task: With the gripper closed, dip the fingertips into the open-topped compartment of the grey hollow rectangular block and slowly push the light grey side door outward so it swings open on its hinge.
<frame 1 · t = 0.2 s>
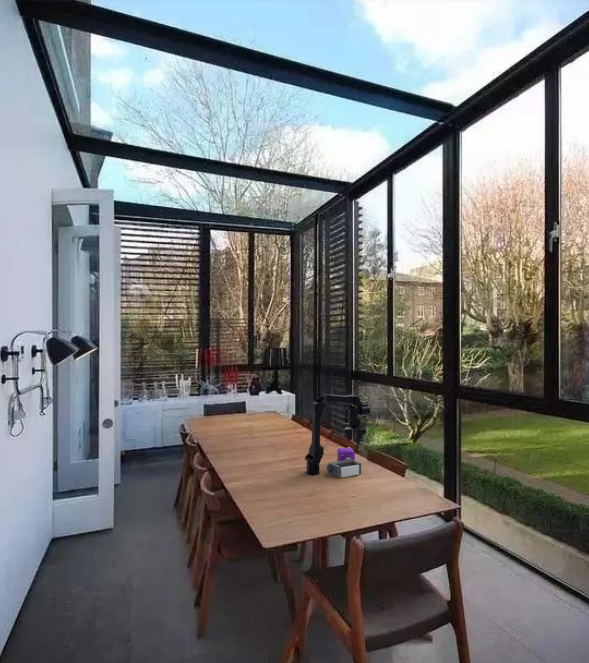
hand: (353, 442, 252), 14 cm above the table, fingers open, 9 cm apart
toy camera: (346, 466, 254), on the table
side door: (349, 471, 235), point 3 cm above the table, hinge at 0.0°
grey hollow rectangular block: (344, 473, 239), on the table
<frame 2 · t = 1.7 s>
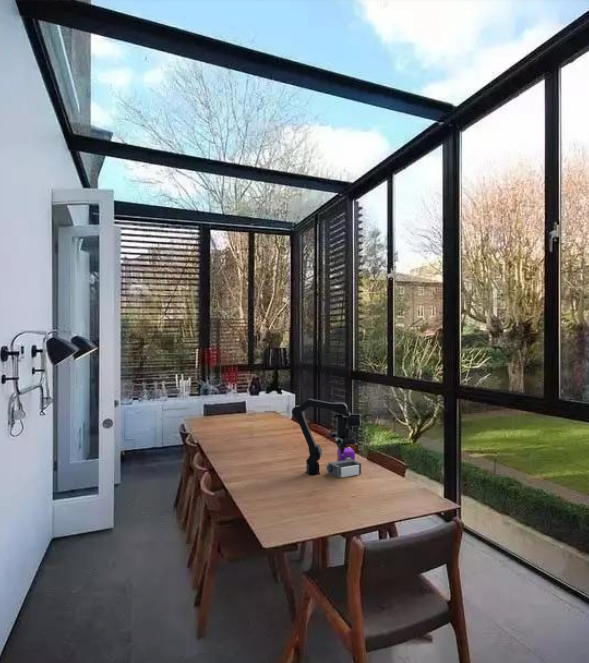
hand: (341, 453, 236), 12 cm above the table, fingers closed
nothing on the table moved.
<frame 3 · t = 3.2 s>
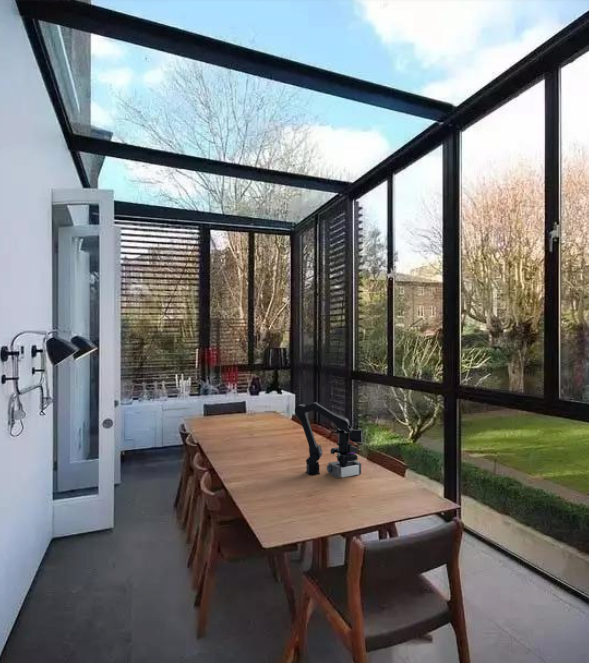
hand: (343, 469, 235), 4 cm above the table, fingers closed
side door: (349, 471, 235), point 3 cm above the table, hinge at 0.0°, touching gripper
everything else where it was.
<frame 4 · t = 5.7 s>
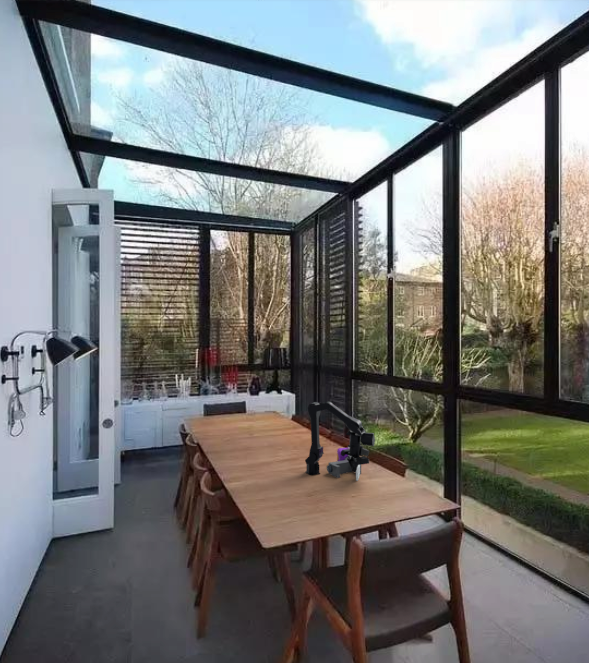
hand: (354, 472, 230), 4 cm above the table, fingers closed
side door: (358, 472, 232), point 3 cm above the table, hinge at 48.8°, touching gripper
everything else where it was.
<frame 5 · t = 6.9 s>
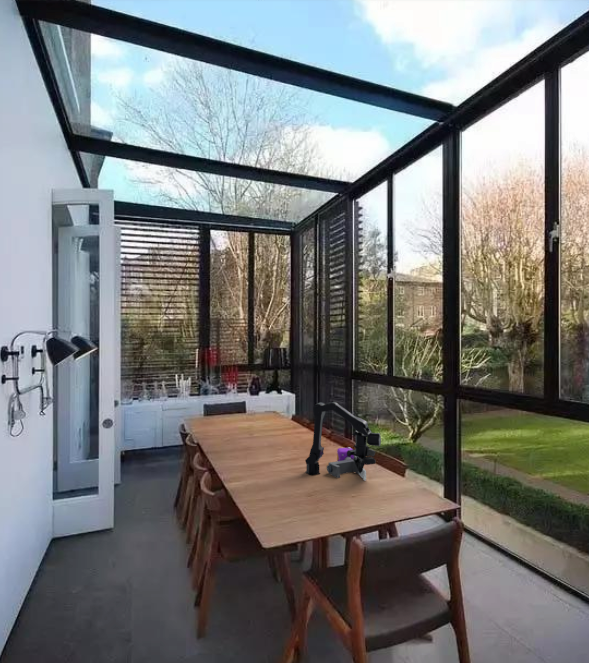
hand: (360, 472, 230), 4 cm above the table, fingers closed
side door: (362, 472, 232), point 3 cm above the table, hinge at 70.8°, touching gripper
everything else where it was.
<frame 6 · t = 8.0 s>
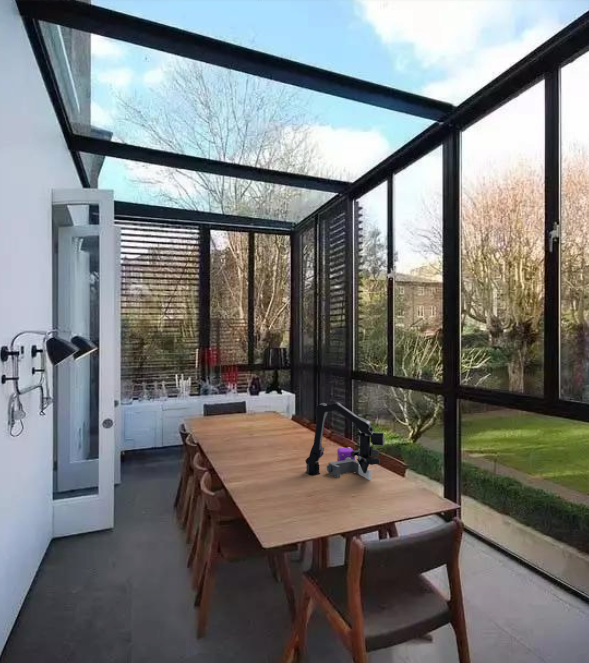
hand: (364, 473, 229), 3 cm above the table, fingers closed
side door: (364, 472, 233), point 3 cm above the table, hinge at 84.9°, touching gripper
everything else where it was.
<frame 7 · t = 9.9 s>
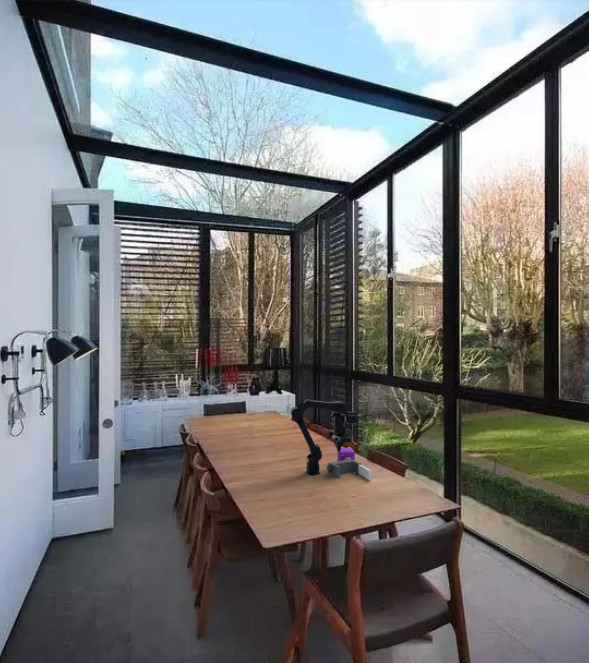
hand: (338, 451, 242), 12 cm above the table, fingers closed
side door: (364, 472, 233), point 3 cm above the table, hinge at 85.2°
everything else where it was.
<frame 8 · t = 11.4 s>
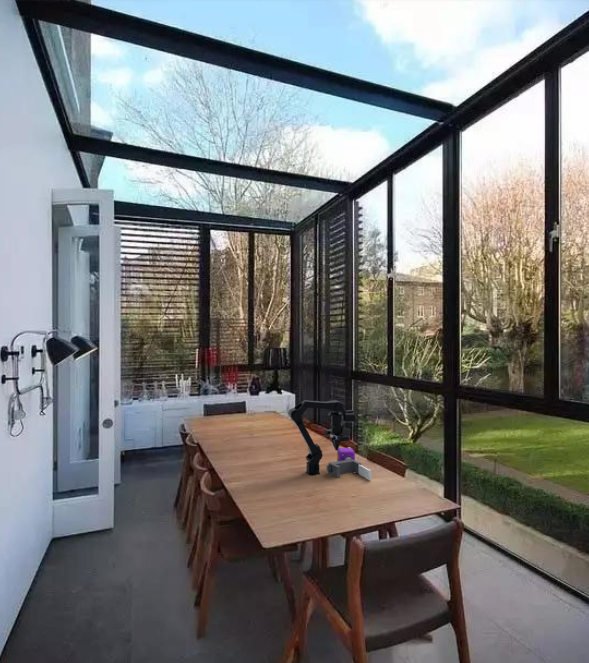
hand: (336, 450, 244), 12 cm above the table, fingers closed
nothing on the table moved.
at the end: side door at +85° (first picture: +0°); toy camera moved 0.3 cm from its start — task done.
